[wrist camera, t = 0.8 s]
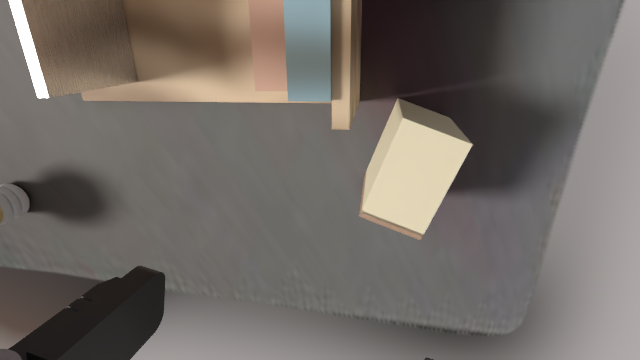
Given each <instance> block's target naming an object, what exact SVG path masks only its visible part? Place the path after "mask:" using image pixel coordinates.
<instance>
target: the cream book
mask: <svg viewBox="0 0 640 360" xmlns="http://www.w3.org/2000/svg"><path fill="white" fill-rule="evenodd" d="M472 145H473V144H472V143H471V142H470V141H469V139H468V138H467V137H466V136H465V135H464V134H463V132H462V131H461V130H460V129H459V128H458V127H457V125H456V124H455V123H454V122H453V121H452V120H451V118H449V117H447V116H444V115H441V114H439V113H436V112H434V111H431V110H428V109H426V108H423V107H420V106H418V105H415V104H412V103H410V102H407V101H405V100H402V99H399V98H398V99H397V101H396V103H395V106H394V108H393V110H392V113H391V115H390V117H389V120H388V122H387V124H386V127H385V129H384V131H383V134H382V136H381V138H380V141H379V143H378V145H377V148H376V150H375V152H374V154H373V157H372V159H371V161H370V164H369V166H368V168H367V171H366V173H365V175H364V183H363V190H362V198H361V206H360V213H359V217H362V218H364V219H367V220H369V221H372V222H375V223H377V224H380V225H382V226H385V227H388V228H390V229H393V230H395V231H398V232H400V233H403V234H406V235H408V236H411V237H413V238H416V239H419V240H421V238H422V237H423V235H424V233H425V231H426V229H427V227H428V226H429V224H430V222H431V220H432V218H433V216H434V215H435V213H436V211H437V209H438V207H439V205H440V204H441V202H442V200H443V198H444V196H445V194H446V193H447V191H448V189H449V187H450V185H451V184H452V182H453V180H454V178H455V176H456V174H457V173H458V171H459V169H460V167H461V165H462V163H463V162H464V160H465V158H466V156H467V154H468V152H469V151H470V149H471V147H472Z"/></svg>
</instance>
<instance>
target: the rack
mask: <svg viewBox="0 0 640 360" xmlns="http://www.w3.org/2000/svg"><path fill="white" fill-rule="evenodd" d="M122 4H123V9H124V14H125V19H126V24H127V30H128V35H129V40H130V45H131V50H132V55H133V60H134V65H135V71H136V76H137V81H138V82H135V83H130V84H124V85H118V86H113V87H107V88H101V89H96V90H90V91H84V92H81V94H82V98H83V101H173V102H267V103H332V129H344V130H349V129H350V127H351V124H352V121H353V118H354V116H355V113H356V110H357V107H358V104H359V102H360V64H361V23H362V0H122Z"/></svg>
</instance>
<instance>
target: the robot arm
mask: <svg viewBox="0 0 640 360" xmlns="http://www.w3.org/2000/svg"><path fill="white" fill-rule="evenodd" d="M164 295H165V275H164V273H162V272H159V271H156V270H153V269H149V268H146V267H143V266H137V267H136V268H134V269H133V270H131V271H130V272H129V273H128V274H126V275H125V276H124V277H122V278H118V277H115V278H112V279H110V280H107V281H105V282H103V283H100V284H98V285H96V286H95V287H93V288H92V289H90V290H89V291H88V292H87V293H85V294H84V295H82V296H81V298H80V299H77V300H75V301H74V302H73V303H71V304H70V305H69V306H68V307H67V309H63V310H62V311H60V312H59V313H58V314H56V315H55V316H53V317H52V318H51V319H49V320H48V321H47V322H45V323H44V324H42V325H41V326H40V327H39V328H37V329H36V330H34V331H33V332H32V333H30V334H29V335H27V336H26V337H25V338H23V339H22V340H21V341H19V342H18V343H16V344H15V345H14V346H12V347H11V348H9V349H0V360H130V359H131V358H132V357H133V356H134V355H135V353H136V352H137V351H138V350H139V349H140V348H141V347H142V346H143V345H144V344H145V343H146V341H147V340H148V339H149V338H150V337H151V336H152V335H153V334H154V333H155V331H156V330H157V328H158V327H159V325H160V322H161V320H162V317H163V313H164ZM425 360H433V359H430V358H425Z"/></svg>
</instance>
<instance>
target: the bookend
mask: <svg viewBox="0 0 640 360" xmlns="http://www.w3.org/2000/svg"><path fill="white" fill-rule="evenodd" d="M9 3H10V6H11V9H12V13H13V16H14V19H15V23H16V26H17V29H18V33H19V36H20V39H21V43H22V46H23V49H24V53H25V56H26V60H27V63H28V66H29V70H30V73H31V76H32V80H33V83H34V86H35V90H36V93H37V96H38V98H51V97H56V96H62V95H68V94H73V93H79V92H84V91H90V90H96V89H101V88H107V87H113V86H118V85H124V84H130V83H135V82H138V81H137V76H136V71H135V65H134V60H133V55H132V50H131V45H130V40H129V35H128V30H127V24H126V19H125V14H124V9H123V4H122V0H9Z"/></svg>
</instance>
